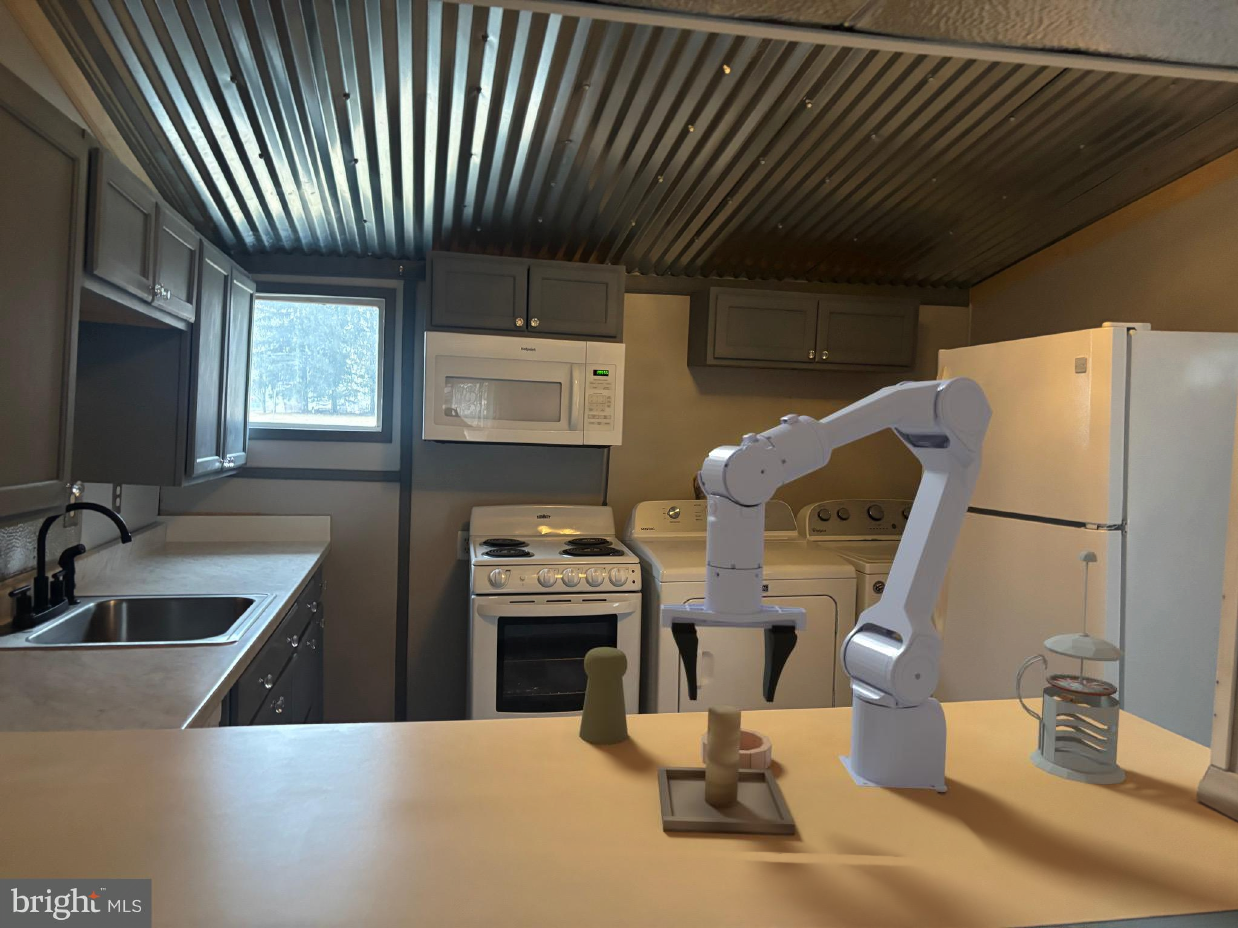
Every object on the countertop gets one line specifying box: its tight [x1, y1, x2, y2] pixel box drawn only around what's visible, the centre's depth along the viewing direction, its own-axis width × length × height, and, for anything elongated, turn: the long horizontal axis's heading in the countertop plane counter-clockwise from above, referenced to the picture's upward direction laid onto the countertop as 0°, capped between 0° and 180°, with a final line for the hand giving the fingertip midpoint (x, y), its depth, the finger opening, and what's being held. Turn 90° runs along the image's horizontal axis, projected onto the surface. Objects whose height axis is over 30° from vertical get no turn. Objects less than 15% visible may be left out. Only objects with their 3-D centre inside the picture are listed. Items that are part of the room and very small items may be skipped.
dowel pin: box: [705, 704, 742, 808], centre depth 80 cm, size 3×3×9 cm
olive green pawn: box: [578, 646, 629, 746], centre depth 97 cm, size 6×6×11 cm
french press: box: [1014, 550, 1127, 785], centre depth 93 cm, size 10×12×25 cm
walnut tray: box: [657, 765, 796, 837], centre depth 80 cm, size 12×12×2 cm
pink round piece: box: [700, 727, 773, 770], centre depth 91 cm, size 8×8×3 cm
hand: (730, 698), depth 82 cm, fingers open, 7 cm apart
